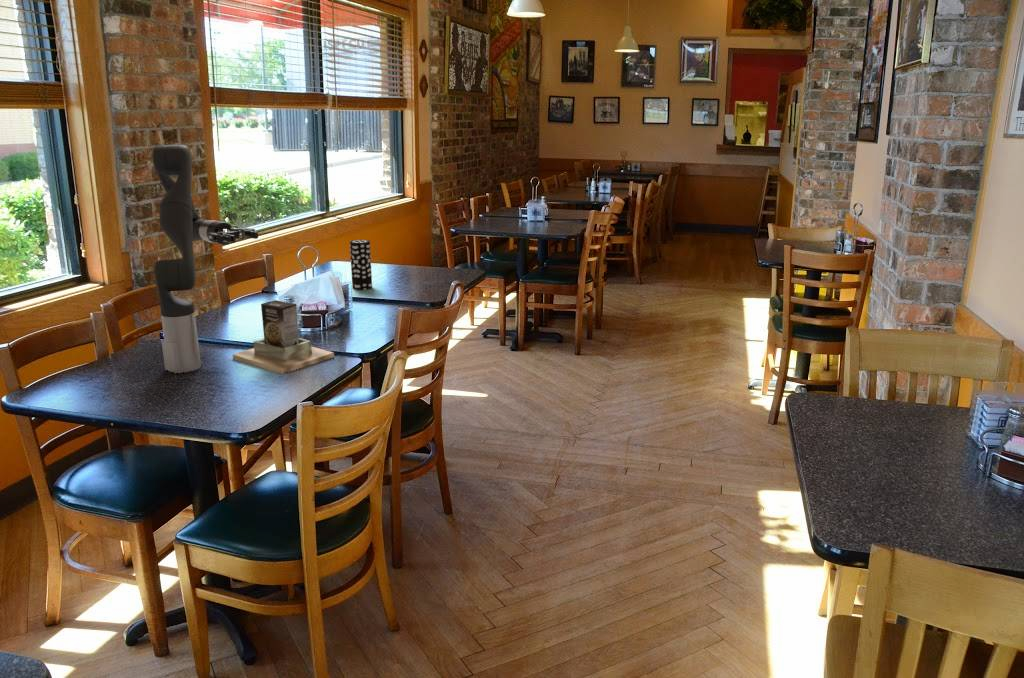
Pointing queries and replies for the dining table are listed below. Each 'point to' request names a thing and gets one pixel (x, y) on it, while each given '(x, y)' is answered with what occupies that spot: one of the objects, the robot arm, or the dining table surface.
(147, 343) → the dining table surface
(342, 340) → the dining table surface
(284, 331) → the coffee box
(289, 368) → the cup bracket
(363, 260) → the white-spotted black cylinder
